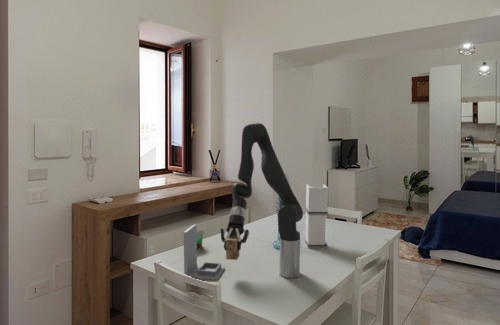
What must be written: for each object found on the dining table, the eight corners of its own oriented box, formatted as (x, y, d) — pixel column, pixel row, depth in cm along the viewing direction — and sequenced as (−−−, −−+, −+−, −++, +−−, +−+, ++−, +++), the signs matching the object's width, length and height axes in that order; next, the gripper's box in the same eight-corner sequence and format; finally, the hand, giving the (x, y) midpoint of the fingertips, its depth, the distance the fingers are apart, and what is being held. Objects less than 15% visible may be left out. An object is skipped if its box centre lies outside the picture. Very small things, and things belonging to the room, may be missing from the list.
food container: (183, 251, 196) (183, 233, 195) (182, 247, 202) (182, 230, 201) (205, 249, 199) (205, 231, 198) (204, 245, 205) (204, 228, 204)
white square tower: (326, 248, 201) (328, 187, 197) (308, 248, 201) (309, 187, 198) (323, 242, 212) (324, 184, 209) (305, 241, 212) (306, 184, 209)
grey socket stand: (224, 268, 171) (224, 226, 169) (217, 280, 158) (216, 233, 156) (194, 266, 174) (193, 224, 172) (184, 277, 161) (183, 232, 159)
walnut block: (239, 256, 165) (239, 237, 164) (236, 260, 159) (236, 241, 158) (229, 255, 166) (228, 236, 165) (225, 259, 160) (225, 240, 159)
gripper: (221, 213, 170) (214, 245, 159) (250, 214, 167) (245, 247, 156) (224, 221, 175) (218, 253, 165) (252, 222, 173) (248, 254, 162)
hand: (231, 250), depth 161 cm, fingers closed on walnut block, 5 cm apart
